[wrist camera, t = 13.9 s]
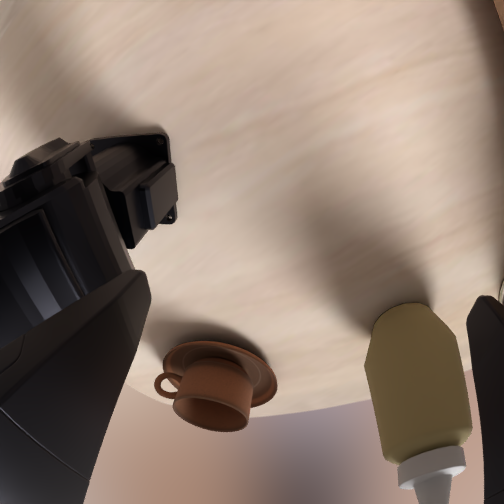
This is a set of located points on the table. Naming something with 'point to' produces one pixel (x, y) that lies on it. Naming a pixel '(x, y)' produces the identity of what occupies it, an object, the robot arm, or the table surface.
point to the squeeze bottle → (419, 399)
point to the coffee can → (502, 294)
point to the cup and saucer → (216, 384)
